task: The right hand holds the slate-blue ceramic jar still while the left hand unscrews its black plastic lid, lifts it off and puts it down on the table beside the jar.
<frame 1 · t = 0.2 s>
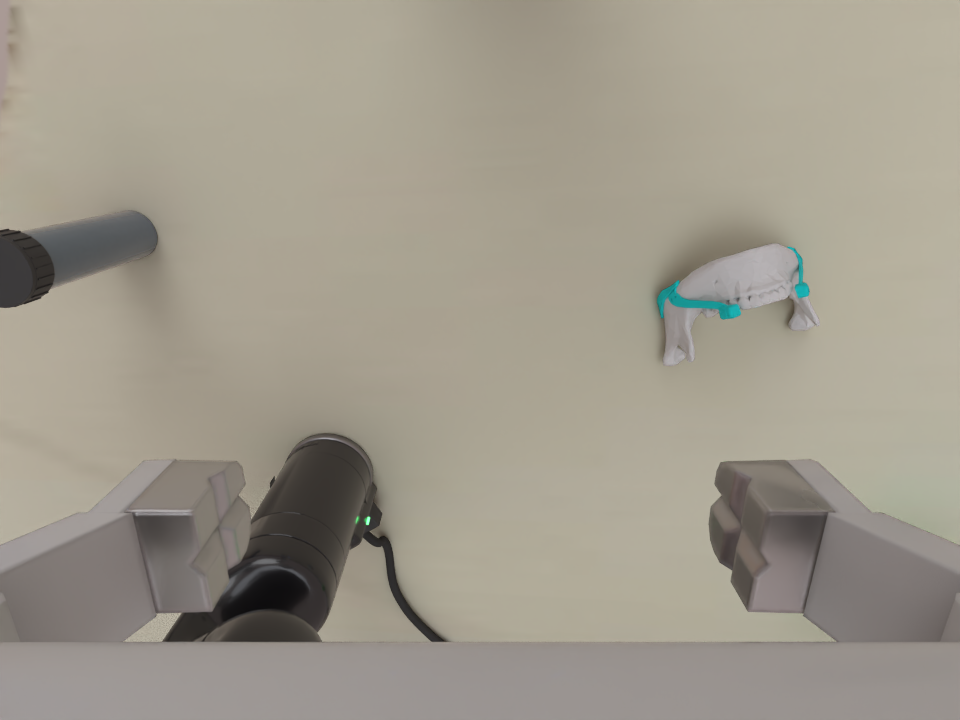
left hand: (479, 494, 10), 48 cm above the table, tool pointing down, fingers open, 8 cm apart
jar: (133, 234, 56), on the table
anatomical model: (724, 293, 58), on the table
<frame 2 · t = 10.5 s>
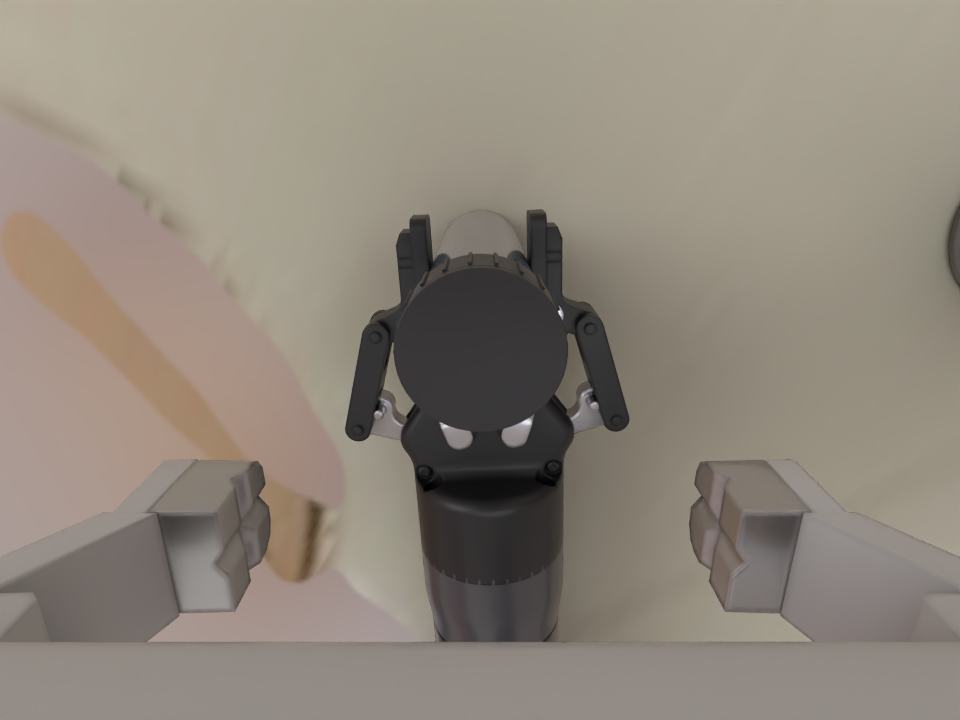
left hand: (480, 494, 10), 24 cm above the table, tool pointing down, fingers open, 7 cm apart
right hand: (477, 216, 26), fingers closed on jar, 4 cm apart
jar: (480, 250, 33), on the table, touching right hand
lid: (480, 350, 17), point 17 cm above the table, screwed on, not yet turned
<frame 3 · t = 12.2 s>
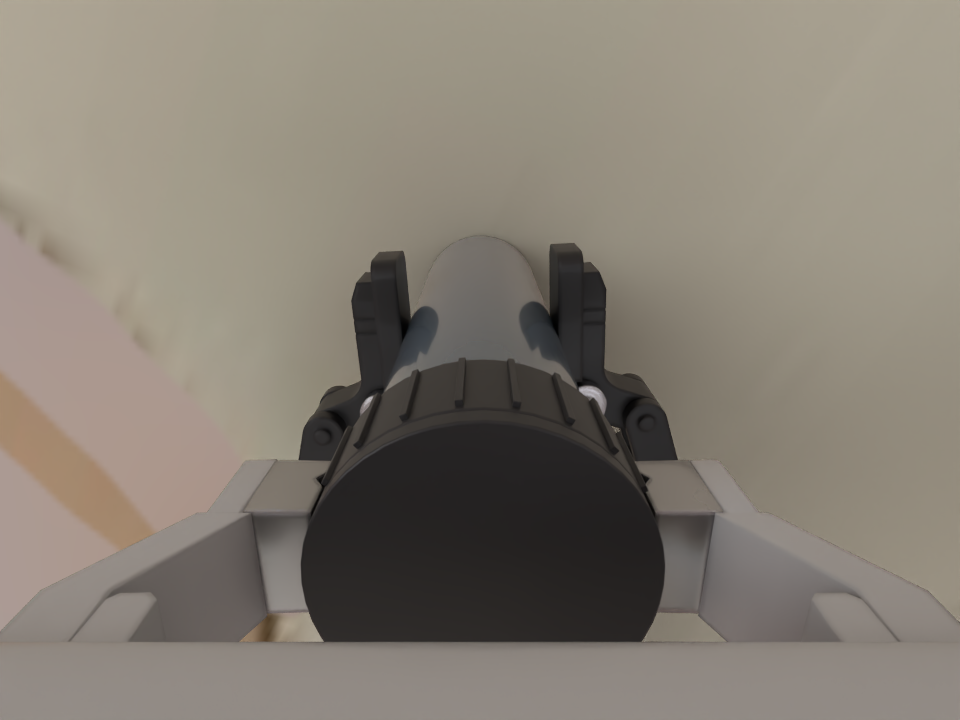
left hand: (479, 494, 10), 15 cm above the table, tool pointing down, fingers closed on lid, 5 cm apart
jar: (480, 290, 24), on the table, touching right hand
lid: (482, 568, 8), point 17 cm above the table, screwed on, not yet turned, touching left hand
when the left hand's fingers open (2 cm above the table, at t = 23.9 s): lid drops 2 cm, point 2 cm above the table.
when the right hand's fingers open (7 cm above the table, at t = 25.0 s): jar stays where it is, on the table.
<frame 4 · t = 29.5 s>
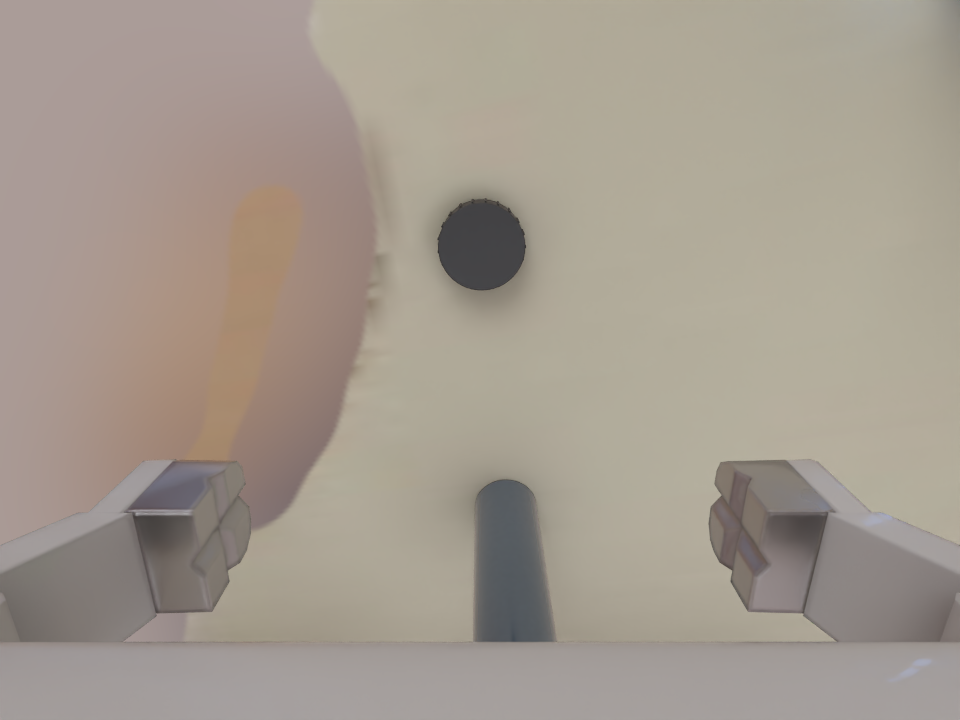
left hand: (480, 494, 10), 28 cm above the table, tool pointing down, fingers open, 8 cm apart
jar: (505, 506, 43), on the table
lid: (481, 246, 34), point 2 cm above the table, off its thread
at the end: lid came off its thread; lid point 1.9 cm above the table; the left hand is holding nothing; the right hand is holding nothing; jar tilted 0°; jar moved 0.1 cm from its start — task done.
